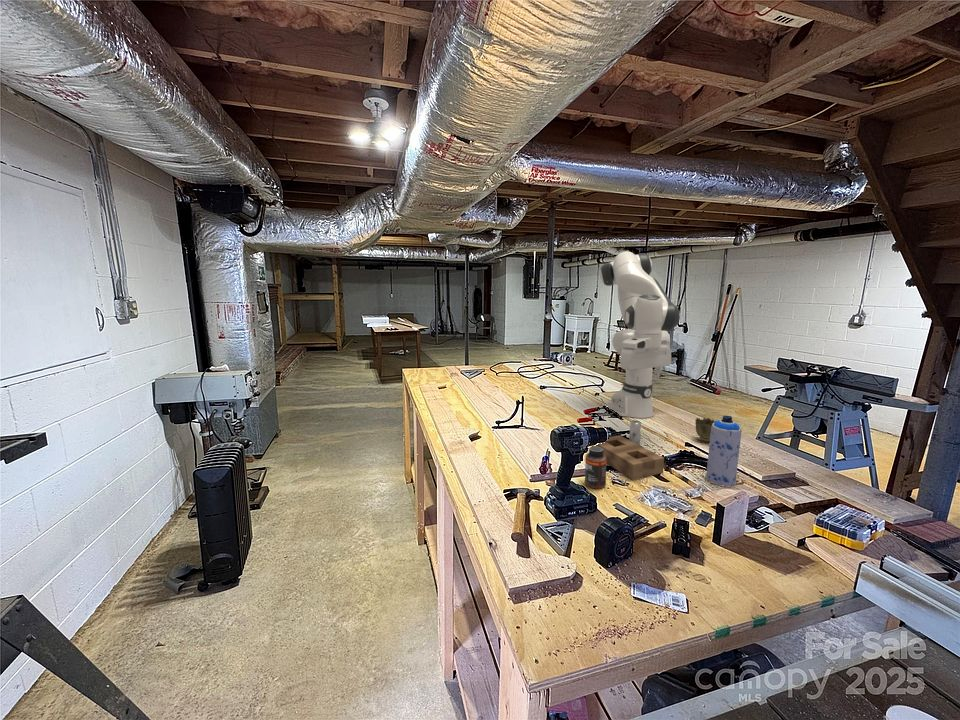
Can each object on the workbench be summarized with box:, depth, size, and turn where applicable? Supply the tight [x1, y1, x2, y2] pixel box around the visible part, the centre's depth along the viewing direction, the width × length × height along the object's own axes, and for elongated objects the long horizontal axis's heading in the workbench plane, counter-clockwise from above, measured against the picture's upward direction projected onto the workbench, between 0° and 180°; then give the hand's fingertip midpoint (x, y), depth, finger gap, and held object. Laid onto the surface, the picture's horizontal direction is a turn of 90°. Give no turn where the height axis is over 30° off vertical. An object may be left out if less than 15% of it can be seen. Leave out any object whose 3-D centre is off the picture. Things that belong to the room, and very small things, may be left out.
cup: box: [695, 417, 717, 443], centre depth 142 cm, size 8×7×8 cm
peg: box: [628, 419, 642, 446], centre depth 139 cm, size 4×4×9 cm
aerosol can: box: [705, 415, 743, 487], centre depth 112 cm, size 8×8×20 cm
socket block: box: [596, 435, 665, 481], centre depth 125 cm, size 20×12×5 cm, turn 21°
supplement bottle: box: [584, 445, 607, 490], centre depth 111 cm, size 6×6×11 cm
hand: (645, 380), depth 135 cm, fingers open, 8 cm apart
